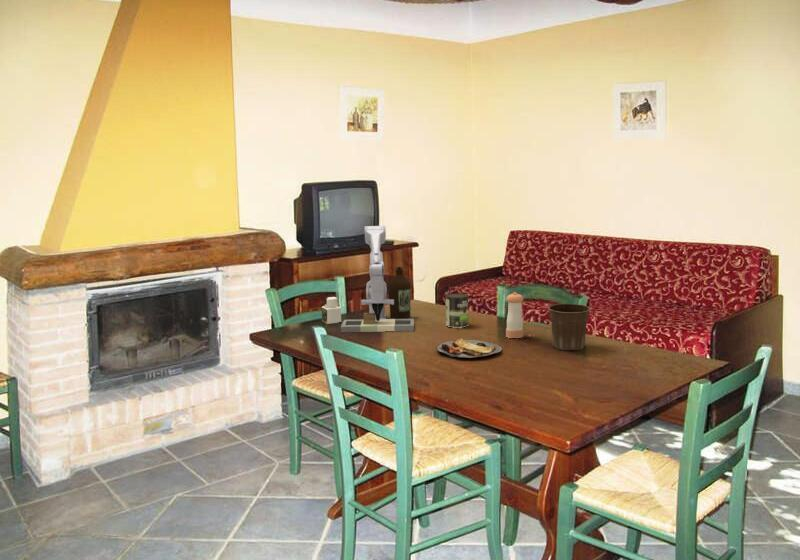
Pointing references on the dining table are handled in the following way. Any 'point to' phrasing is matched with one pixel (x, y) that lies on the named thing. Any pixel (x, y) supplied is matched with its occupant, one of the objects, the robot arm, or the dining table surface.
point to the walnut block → (369, 318)
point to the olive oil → (400, 295)
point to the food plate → (468, 348)
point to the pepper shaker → (514, 316)
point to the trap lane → (378, 325)
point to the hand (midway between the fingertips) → (378, 320)
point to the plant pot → (568, 325)
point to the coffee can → (456, 310)
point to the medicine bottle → (331, 310)
